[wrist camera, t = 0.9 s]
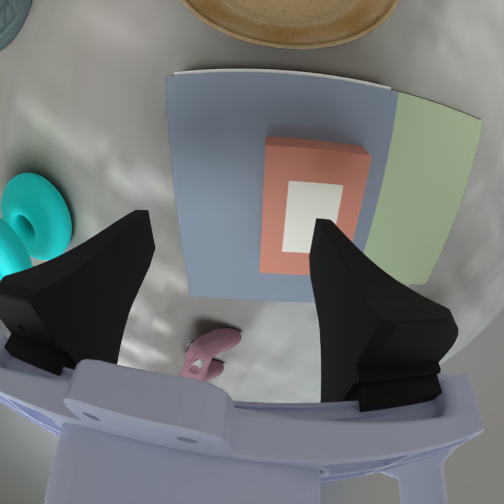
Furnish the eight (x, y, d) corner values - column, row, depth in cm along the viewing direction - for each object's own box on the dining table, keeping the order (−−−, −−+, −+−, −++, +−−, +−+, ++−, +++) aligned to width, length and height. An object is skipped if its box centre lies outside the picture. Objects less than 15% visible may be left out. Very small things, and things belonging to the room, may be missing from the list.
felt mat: (424, 282, 26) (425, 284, 26) (346, 280, 27) (347, 283, 26) (480, 120, 15) (483, 121, 15) (388, 89, 16) (391, 89, 15)
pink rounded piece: (214, 309, 33) (177, 346, 27) (246, 332, 32) (212, 373, 26) (199, 350, 38) (169, 382, 33) (225, 369, 38) (196, 403, 32)
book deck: (342, 280, 27) (348, 303, 24) (196, 273, 27) (190, 295, 25) (384, 85, 16) (401, 90, 13) (180, 71, 16) (165, 73, 14)
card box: (337, 258, 21) (342, 276, 20) (260, 255, 21) (259, 273, 20) (361, 146, 16) (372, 156, 14) (265, 136, 16) (265, 145, 14)
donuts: (-49, 253, 15) (-39, 201, 11) (3, 201, 23) (34, 148, 19) (10, 322, 20) (38, 296, 16) (52, 260, 28) (93, 223, 24)
